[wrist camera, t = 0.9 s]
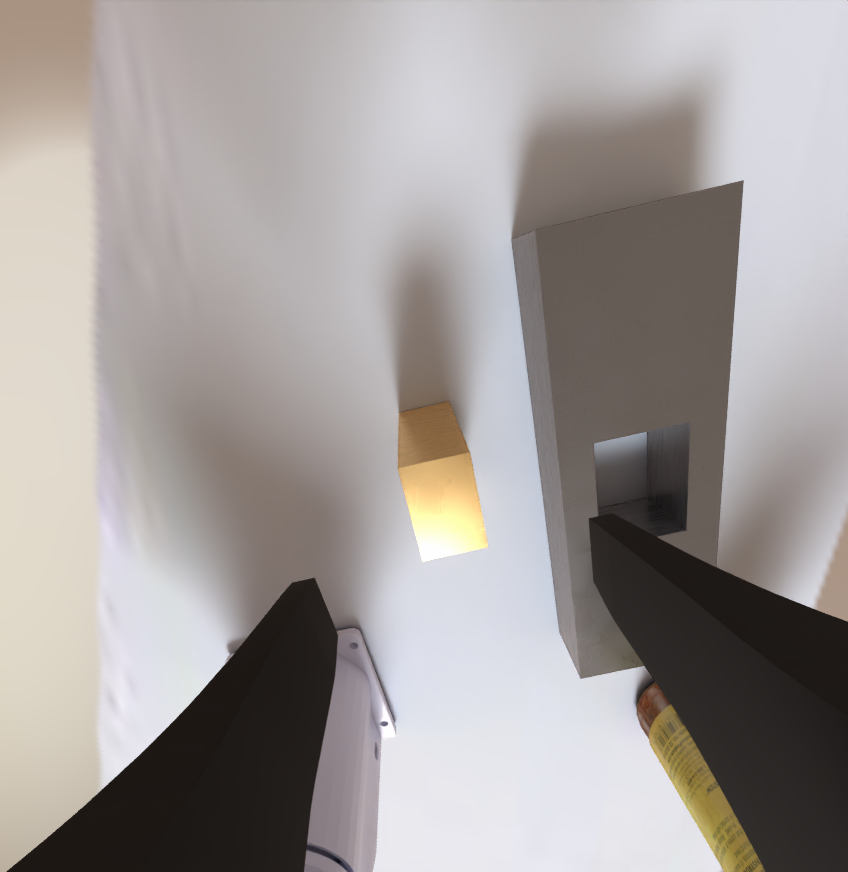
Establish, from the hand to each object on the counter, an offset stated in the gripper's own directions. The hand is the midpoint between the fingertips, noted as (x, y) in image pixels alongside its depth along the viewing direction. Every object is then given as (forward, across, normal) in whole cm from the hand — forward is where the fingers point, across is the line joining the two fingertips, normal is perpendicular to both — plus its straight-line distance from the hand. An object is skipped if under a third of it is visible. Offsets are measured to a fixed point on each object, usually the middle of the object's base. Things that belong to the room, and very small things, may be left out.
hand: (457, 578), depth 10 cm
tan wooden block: (+9, 0, 0) cm, 9 cm away
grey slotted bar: (+9, -8, +3) cm, 13 cm away
